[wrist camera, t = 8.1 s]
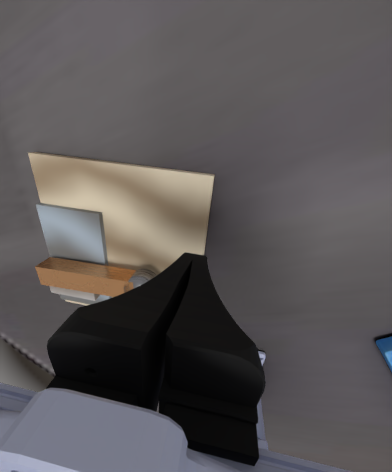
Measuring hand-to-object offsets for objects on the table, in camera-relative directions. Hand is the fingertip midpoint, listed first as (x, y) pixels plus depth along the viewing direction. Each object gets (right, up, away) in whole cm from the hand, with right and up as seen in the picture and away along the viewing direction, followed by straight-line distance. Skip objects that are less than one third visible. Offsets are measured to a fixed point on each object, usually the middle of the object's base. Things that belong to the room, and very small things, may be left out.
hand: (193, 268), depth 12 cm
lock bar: (-10, -2, +11) cm, 16 cm away
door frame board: (-8, 0, +12) cm, 14 cm away
